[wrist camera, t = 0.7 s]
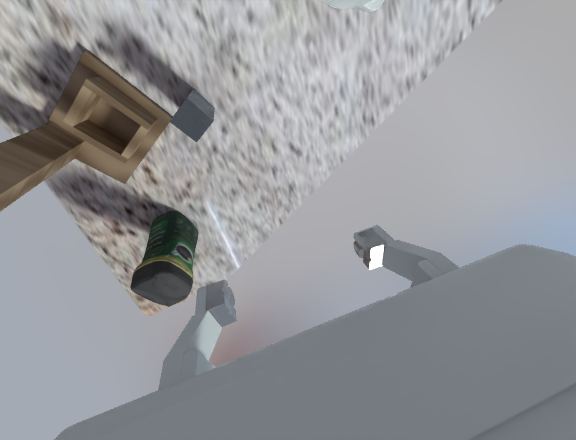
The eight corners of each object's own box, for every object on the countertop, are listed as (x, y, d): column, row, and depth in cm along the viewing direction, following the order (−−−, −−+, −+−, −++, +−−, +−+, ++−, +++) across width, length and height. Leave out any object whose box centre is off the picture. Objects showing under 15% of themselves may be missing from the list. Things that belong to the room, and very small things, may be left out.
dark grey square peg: (193, 88, 34) (186, 97, 27) (214, 107, 37) (213, 121, 29) (179, 107, 35) (169, 121, 28) (200, 125, 38) (196, 142, 30)
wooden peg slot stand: (88, 50, 29) (-43, 44, 14) (173, 116, 36) (142, 157, 21) (43, 137, 33) (-94, 200, 19) (126, 181, 40) (75, 251, 26)
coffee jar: (146, 221, 46) (114, 293, 32) (176, 205, 46) (157, 271, 32) (177, 246, 53) (162, 315, 39) (204, 232, 52) (199, 297, 38)
